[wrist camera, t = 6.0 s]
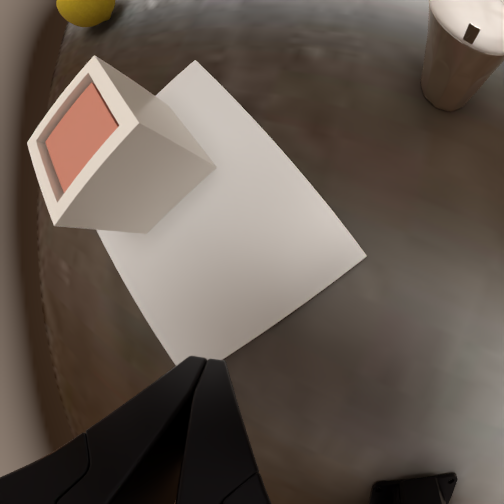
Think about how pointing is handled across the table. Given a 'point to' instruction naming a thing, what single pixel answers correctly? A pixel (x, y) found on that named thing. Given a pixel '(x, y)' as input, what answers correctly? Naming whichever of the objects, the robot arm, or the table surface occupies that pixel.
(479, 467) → the table surface
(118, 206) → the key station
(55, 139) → the salmon pink square block
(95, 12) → the lemon
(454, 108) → the takeaway coffee cup
